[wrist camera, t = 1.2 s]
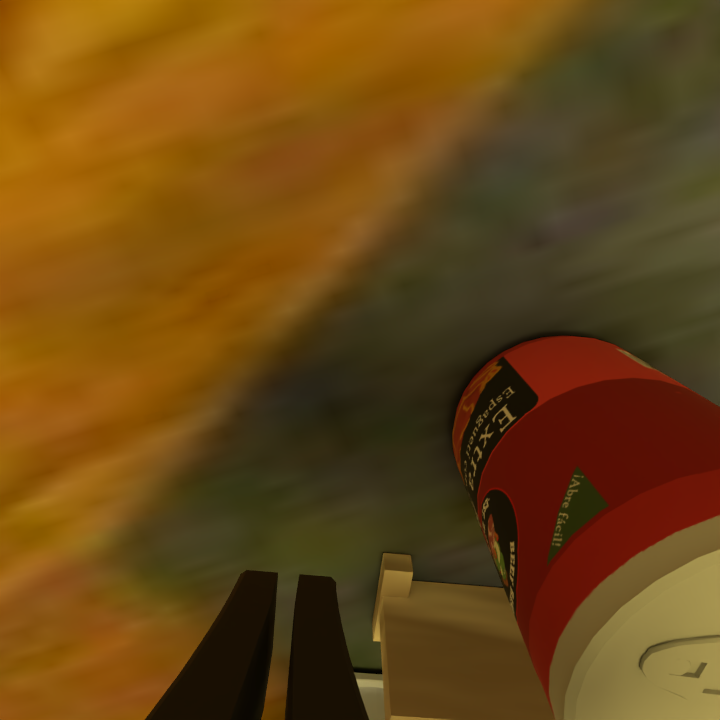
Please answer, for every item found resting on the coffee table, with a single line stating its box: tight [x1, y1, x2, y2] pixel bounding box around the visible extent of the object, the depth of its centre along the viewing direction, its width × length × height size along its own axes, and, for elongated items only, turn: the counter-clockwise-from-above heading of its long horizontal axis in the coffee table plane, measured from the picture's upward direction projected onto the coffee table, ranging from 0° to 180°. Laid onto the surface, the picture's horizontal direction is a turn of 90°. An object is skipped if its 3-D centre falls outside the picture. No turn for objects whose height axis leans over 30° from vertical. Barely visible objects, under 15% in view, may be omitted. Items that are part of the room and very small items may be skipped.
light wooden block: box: [372, 553, 555, 720], centre depth 20 cm, size 4×13×6 cm, turn 84°
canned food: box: [452, 336, 720, 720], centre depth 14 cm, size 8×8×11 cm
